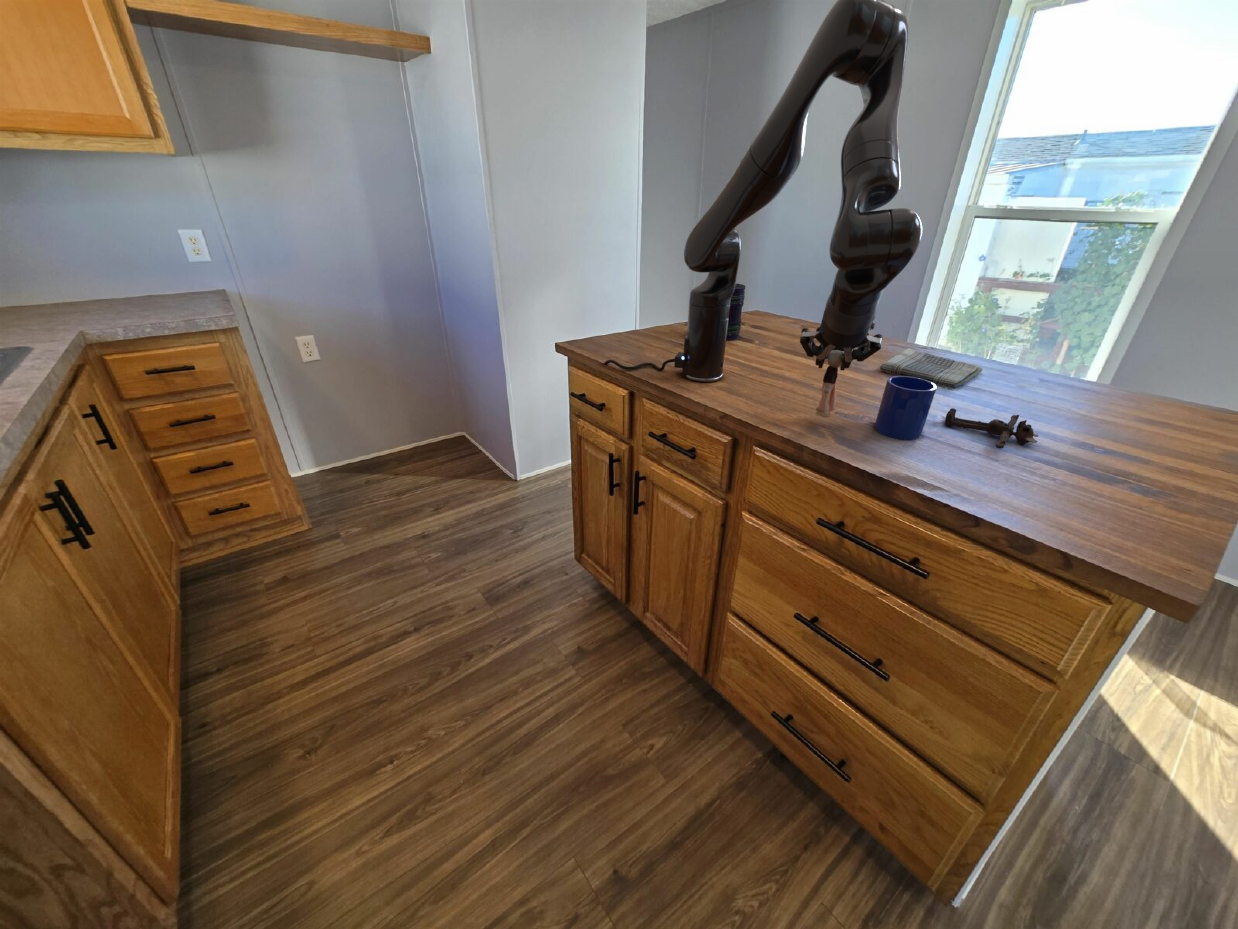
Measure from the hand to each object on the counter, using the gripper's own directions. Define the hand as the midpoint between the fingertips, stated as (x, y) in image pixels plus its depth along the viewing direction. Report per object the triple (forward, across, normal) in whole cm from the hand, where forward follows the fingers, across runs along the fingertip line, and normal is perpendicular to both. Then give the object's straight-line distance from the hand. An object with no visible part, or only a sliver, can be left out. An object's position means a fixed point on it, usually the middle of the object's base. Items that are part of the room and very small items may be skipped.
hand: (831, 364), depth 97 cm
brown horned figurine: (+9, -30, +6) cm, 32 cm away
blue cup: (+6, -14, +9) cm, 18 cm away
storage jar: (+46, +28, -31) cm, 62 cm away
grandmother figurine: (+5, 0, +8) cm, 9 cm away
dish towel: (+35, -26, -19) cm, 47 cm away
